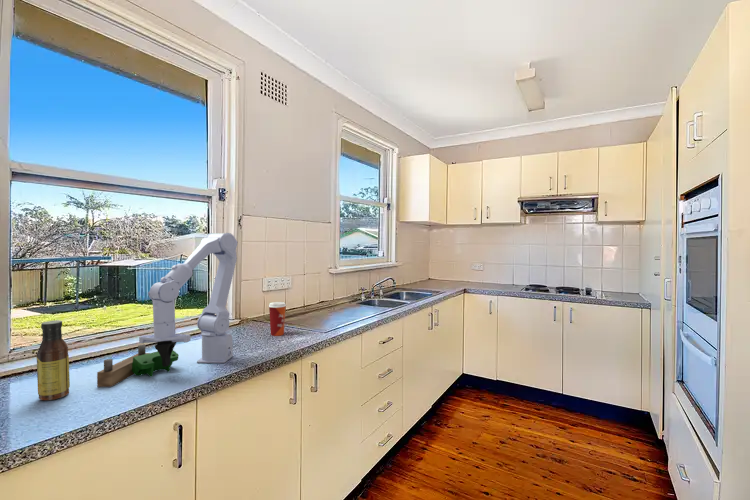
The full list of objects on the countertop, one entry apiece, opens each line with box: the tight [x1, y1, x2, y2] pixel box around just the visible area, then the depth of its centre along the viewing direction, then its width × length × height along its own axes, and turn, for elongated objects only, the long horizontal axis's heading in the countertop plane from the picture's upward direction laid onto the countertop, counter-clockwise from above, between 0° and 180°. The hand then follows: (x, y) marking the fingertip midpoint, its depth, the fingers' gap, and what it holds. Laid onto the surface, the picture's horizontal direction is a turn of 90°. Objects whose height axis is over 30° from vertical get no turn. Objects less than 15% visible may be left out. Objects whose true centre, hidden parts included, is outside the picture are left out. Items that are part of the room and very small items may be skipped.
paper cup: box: [268, 301, 287, 337], centre depth 161 cm, size 8×8×14 cm
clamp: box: [132, 350, 179, 378], centre depth 113 cm, size 12×6×9 cm, turn 140°
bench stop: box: [96, 343, 150, 388], centre depth 110 cm, size 4×18×7 cm, turn 0°
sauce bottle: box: [36, 319, 71, 402], centre depth 94 cm, size 7×6×20 cm
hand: (165, 365), depth 111 cm, fingers closed, pressing on clamp
